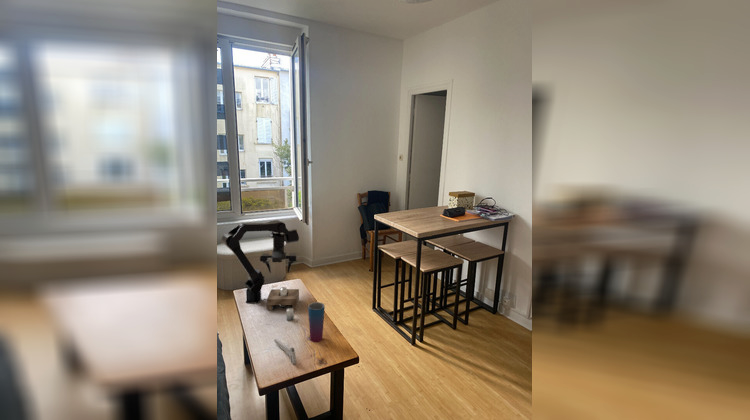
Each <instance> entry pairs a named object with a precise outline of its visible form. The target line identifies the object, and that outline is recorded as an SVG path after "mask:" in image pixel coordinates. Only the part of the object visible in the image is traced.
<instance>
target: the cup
mask: <svg viewBox="0 0 750 420" xmlns="http://www.w3.org/2000/svg"><path fill="white" fill-rule="evenodd" d="M325 307H326V305H325V303H323V302H320V301H318V302H317V301H315V302H311V303H309V304H308V306H307V310H308V326H309V327H308V329H309V339H310V341H311V342H313V343H319V342H322V340H323V334H324V322H325V321H324V318H325Z"/></svg>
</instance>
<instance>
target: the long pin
mask: <svg viewBox="0 0 750 420" xmlns="http://www.w3.org/2000/svg"><path fill="white" fill-rule="evenodd" d="M279 289H280V296H287V289H288V288H287V287H285V286H282V287H280V288H279ZM279 306H280V307H283V308H284V307H287V306H288V305H279Z"/></svg>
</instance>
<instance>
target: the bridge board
mask: <svg viewBox="0 0 750 420" xmlns="http://www.w3.org/2000/svg"><path fill="white" fill-rule="evenodd" d="M299 301H300V289H298V288H295V289H294V288H292V289H291V288H289V289H288V288H287V296H280V288H279V289H278V288H277V289H274V288H272V289H270V291H269V294H268V296H267V298H266V311H267V312H272V311H273V308H274V306H280V305H287V306H289V305H290V306H291V308H293V309H294V312H296V311H297V310H298V306H299Z"/></svg>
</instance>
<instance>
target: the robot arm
mask: <svg viewBox="0 0 750 420" xmlns="http://www.w3.org/2000/svg"><path fill="white" fill-rule="evenodd" d="M247 232H271V233H269V235H268V236H269V237H270V238H271V239H272V240H273V241H272V245H273V246H272V248H273V249H272V252H271V254H272V255H270V252H269V253H268V252H267V253H266V252H263V253H262V254H261V255H260V256H259V261H260V262H262V263H263V264H265V265H266V266H267V267H266V268H267V269H268V272H269V273H270V274H271V273H272V263H283V260H288V263H287V273H288V274H289V272H290V269H291V266H292V264H293V263H295V262H297V260H298V253H296V252H295V253H293V252H292V253H289V254H288V255H287V253H286V252H285V249H286V247H285V243H286V244H291V243H297V242H299V239H300V236H299V233H298V231H297V229H296V228H294V229H289V230H288V228H287V226H286V223H284V222H283V221H280V220H278V219H275V220H270V221H267V222H240V223H238V225H236V226H234V227H233V228H232V229H230V230H229V231H228V232H226V233H224V234H223V235H222V237H221V242H222V243H223V245H225V246H226V247H227V248H228V249H229V250H230V251H231V252H232V253H233V255H234V256H235V258H236V259H237V261H238V262H239V263H240V265H241V267H242V268H243V270H244V271H245V273H246V277H247V281H245V283H244V288H245V289H246V290H245V294H246V295H245V296H246V300H245V304H259V303H260V301H261V299H262V289H263V288H262V287H263V285H264V284H265V276H264V275H263V273H262V272H261V270H259V269H258V268H254V266H253V265H252V263H251V262H250V261H249V258H248V257H247V255H246V254H245V253H244V251H243V250H242V248H241V244H240V241H241V240H242V238H243V237H244V235H245V234H246V233H247ZM271 262H272V263H271Z"/></svg>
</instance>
